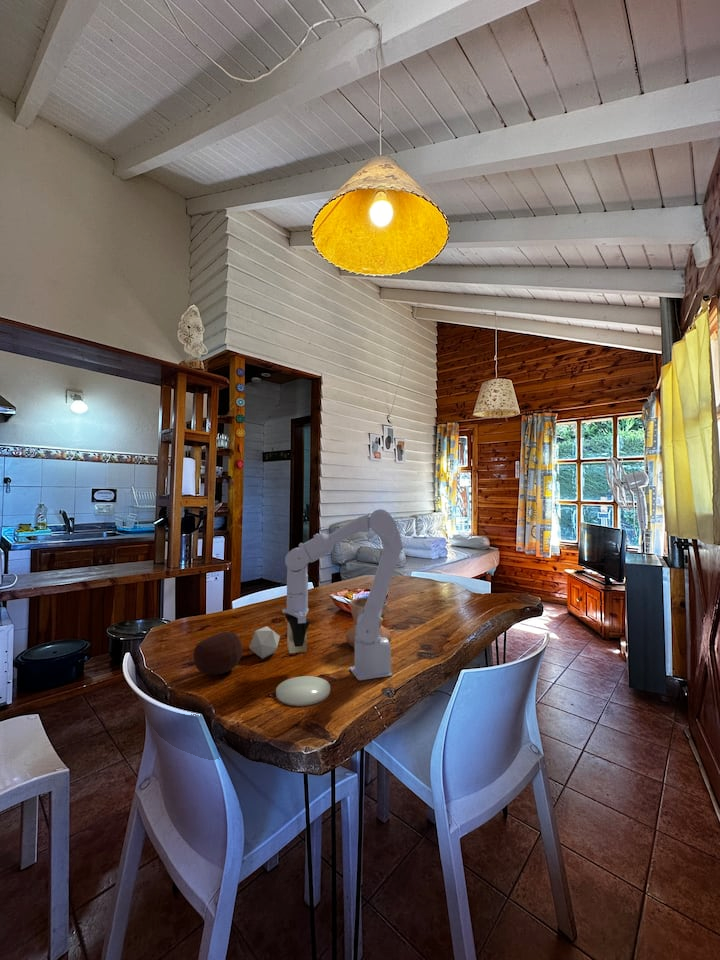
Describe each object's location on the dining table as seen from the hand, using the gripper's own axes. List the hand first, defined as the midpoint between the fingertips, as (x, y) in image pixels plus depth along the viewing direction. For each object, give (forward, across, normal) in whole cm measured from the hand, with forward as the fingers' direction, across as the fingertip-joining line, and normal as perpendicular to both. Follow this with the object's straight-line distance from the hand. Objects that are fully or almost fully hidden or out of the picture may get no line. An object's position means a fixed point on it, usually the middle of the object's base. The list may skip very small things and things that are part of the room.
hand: (297, 642), depth 109 cm
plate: (+8, +12, -1) cm, 14 cm away
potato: (+8, -6, -20) cm, 22 cm away
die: (+8, -15, -7) cm, 18 cm away
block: (+2, 0, 0) cm, 2 cm away
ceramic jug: (+8, -12, +25) cm, 29 cm away
